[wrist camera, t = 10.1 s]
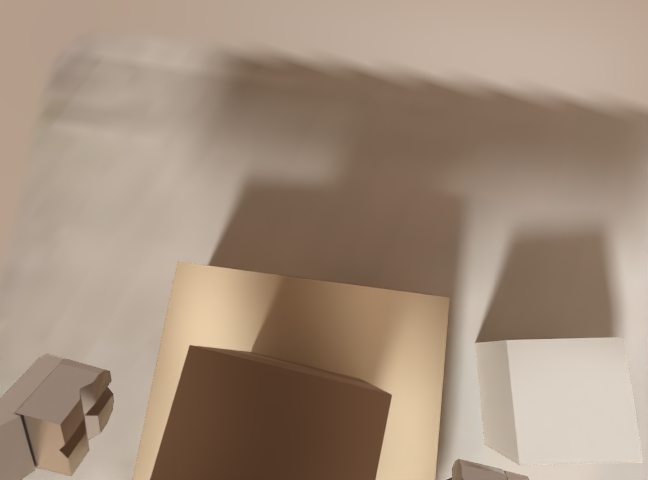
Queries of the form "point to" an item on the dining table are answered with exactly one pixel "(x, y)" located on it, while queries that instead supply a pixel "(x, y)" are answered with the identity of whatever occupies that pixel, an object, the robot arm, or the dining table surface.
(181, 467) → the walnut column
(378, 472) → the plinth
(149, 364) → the dining table surface
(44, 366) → the robot arm
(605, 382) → the cube
